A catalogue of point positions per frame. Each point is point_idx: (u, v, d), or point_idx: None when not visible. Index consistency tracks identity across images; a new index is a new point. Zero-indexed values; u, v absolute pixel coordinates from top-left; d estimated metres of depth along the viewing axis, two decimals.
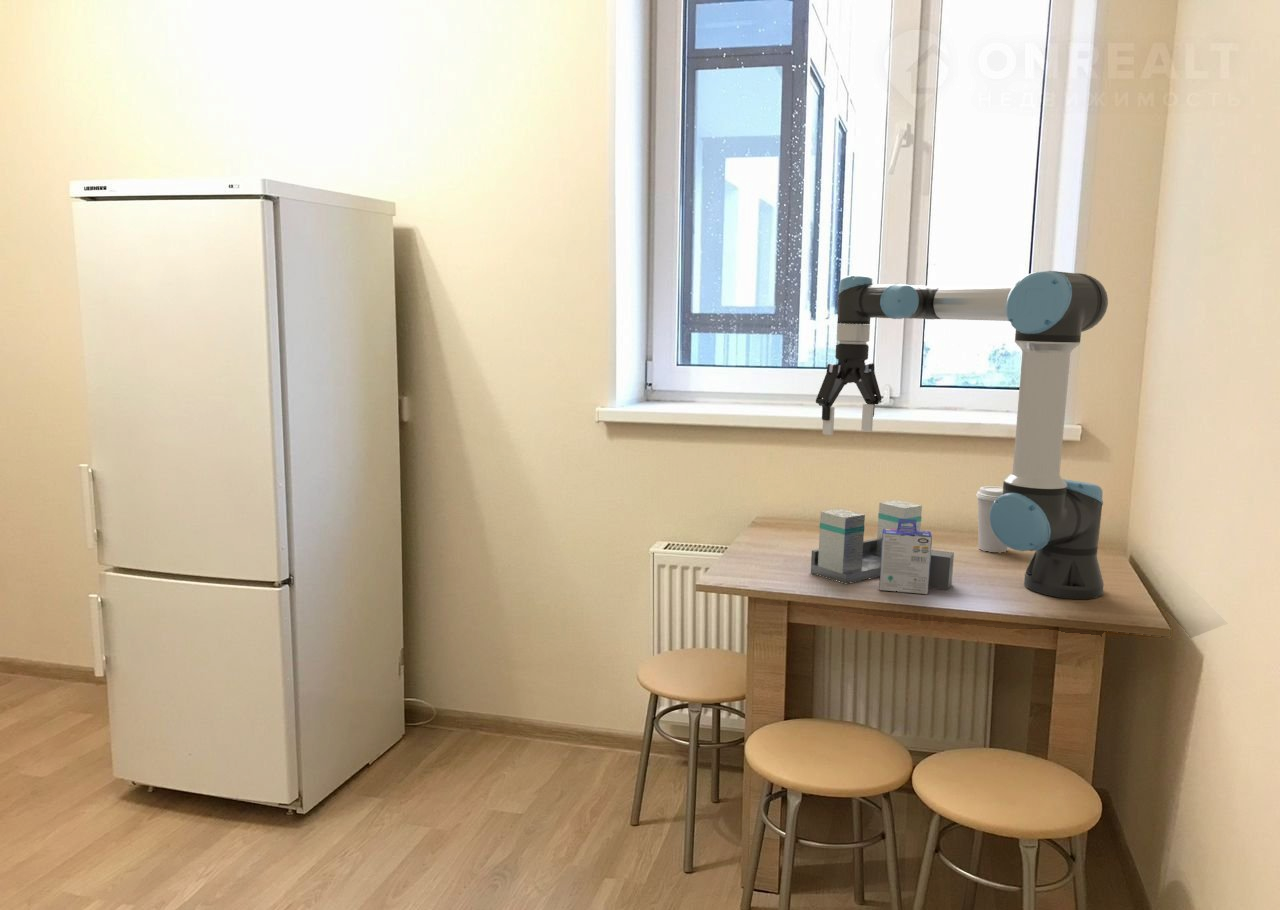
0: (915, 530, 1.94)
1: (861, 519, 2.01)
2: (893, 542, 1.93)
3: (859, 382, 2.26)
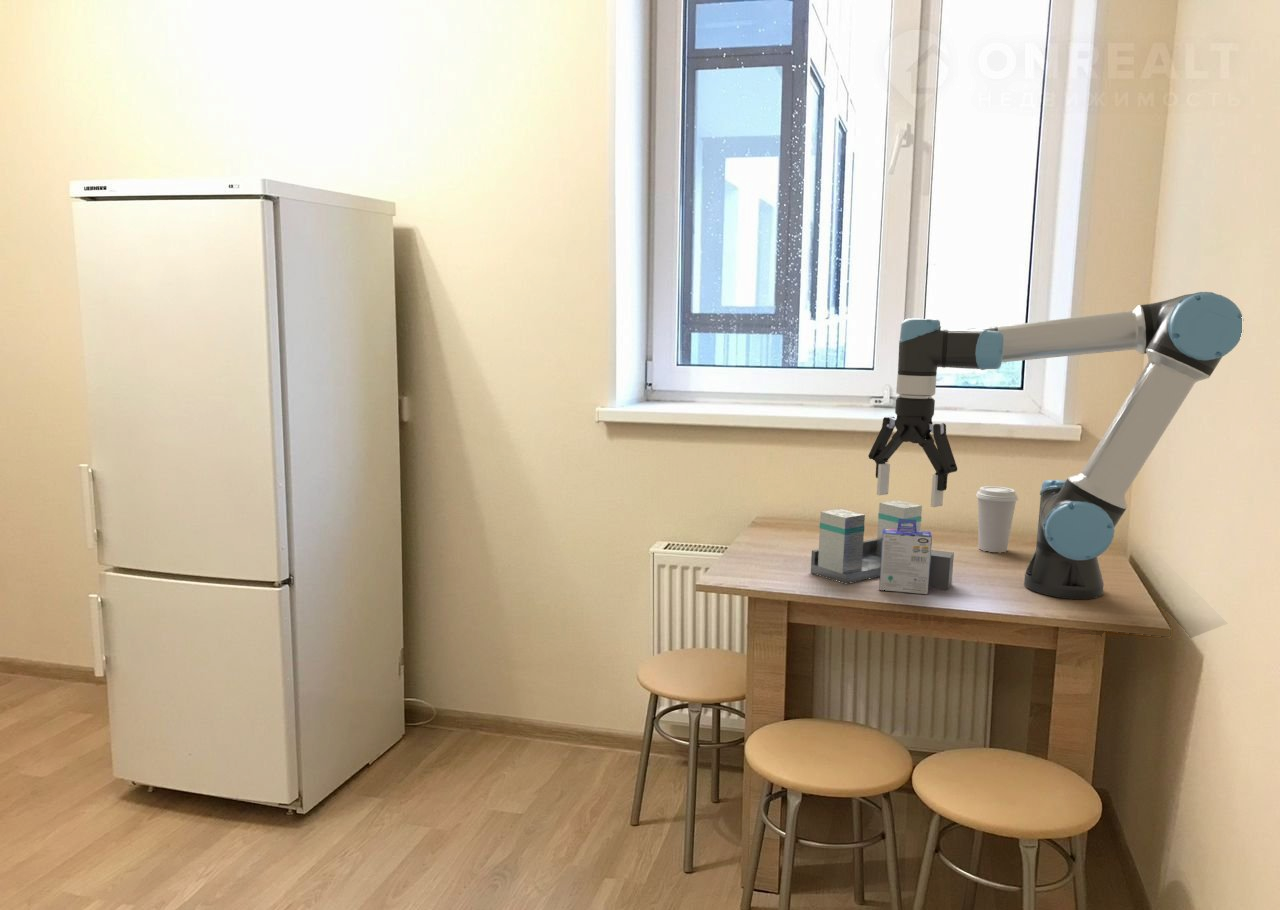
0: (915, 530, 1.94)
1: (861, 519, 2.01)
2: (893, 542, 1.93)
3: None
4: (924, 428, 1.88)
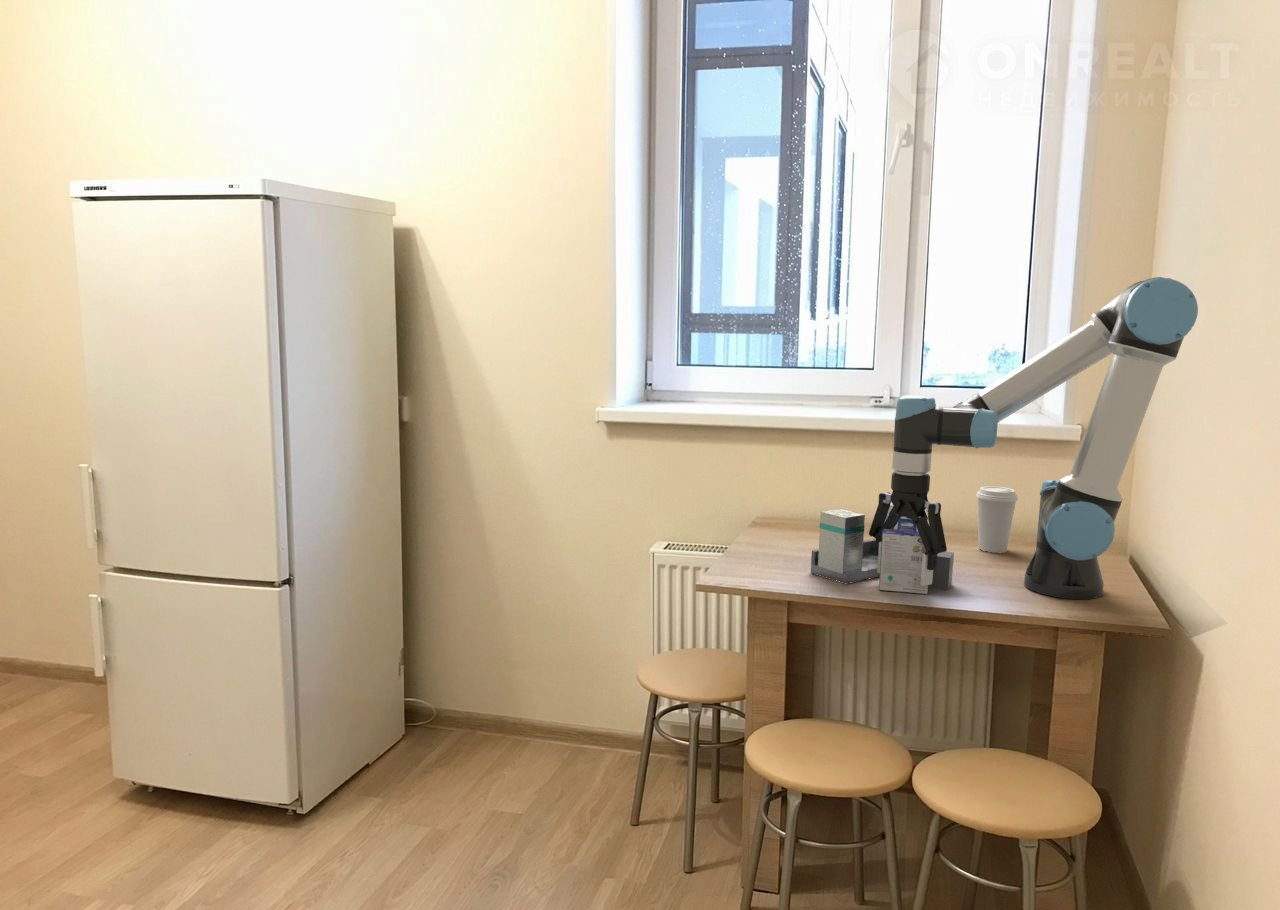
0: (915, 530, 1.94)
1: (861, 519, 2.01)
2: (893, 542, 1.93)
3: None
4: (919, 505, 1.90)
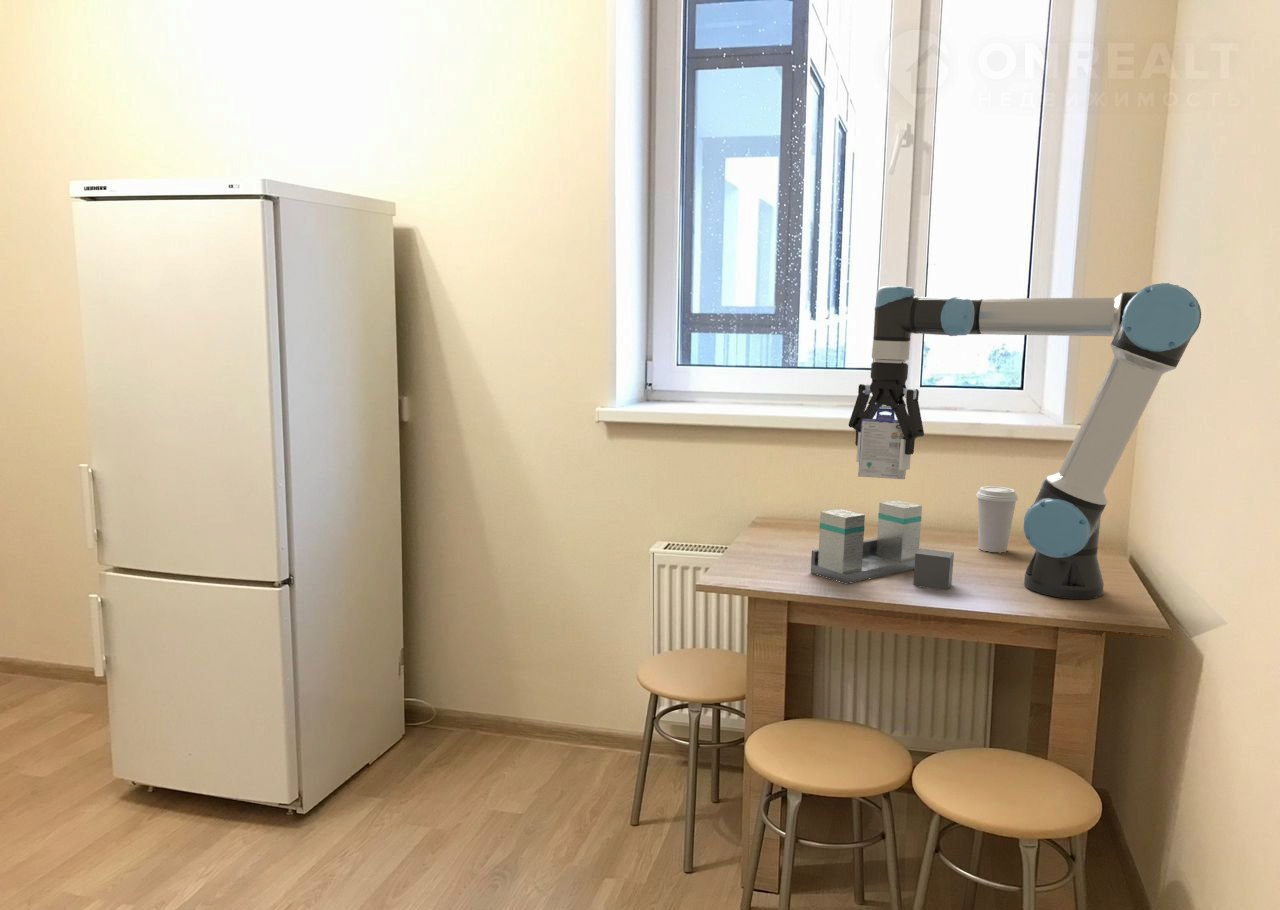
0: (893, 418, 2.01)
1: (861, 519, 2.01)
2: (872, 429, 1.99)
3: None
4: (898, 392, 1.96)
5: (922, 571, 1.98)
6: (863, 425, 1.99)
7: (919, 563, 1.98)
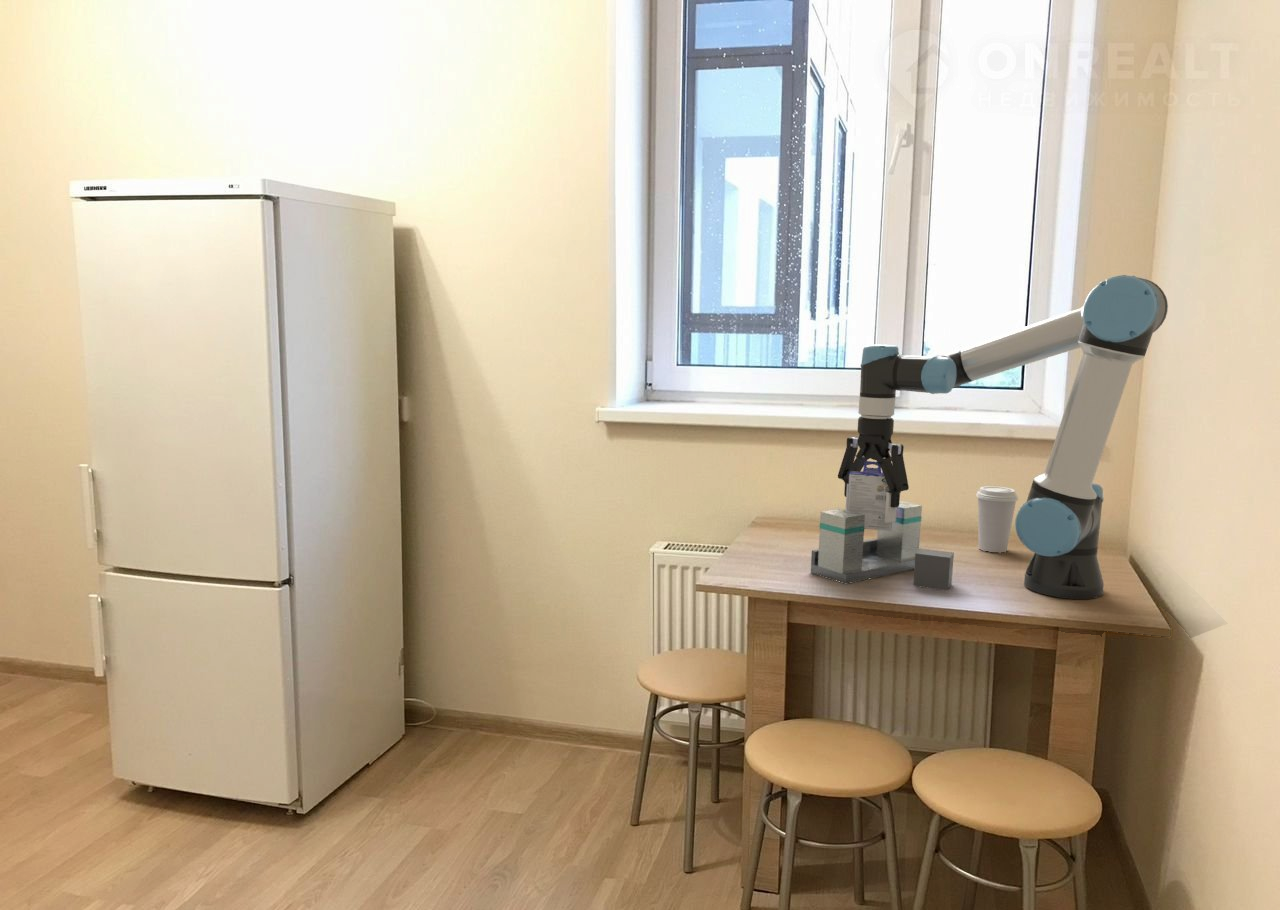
0: (880, 471, 2.07)
1: (861, 519, 2.01)
2: (859, 482, 2.06)
3: None
4: (883, 446, 2.03)
5: (922, 571, 1.98)
6: (850, 478, 2.06)
7: (918, 563, 1.98)
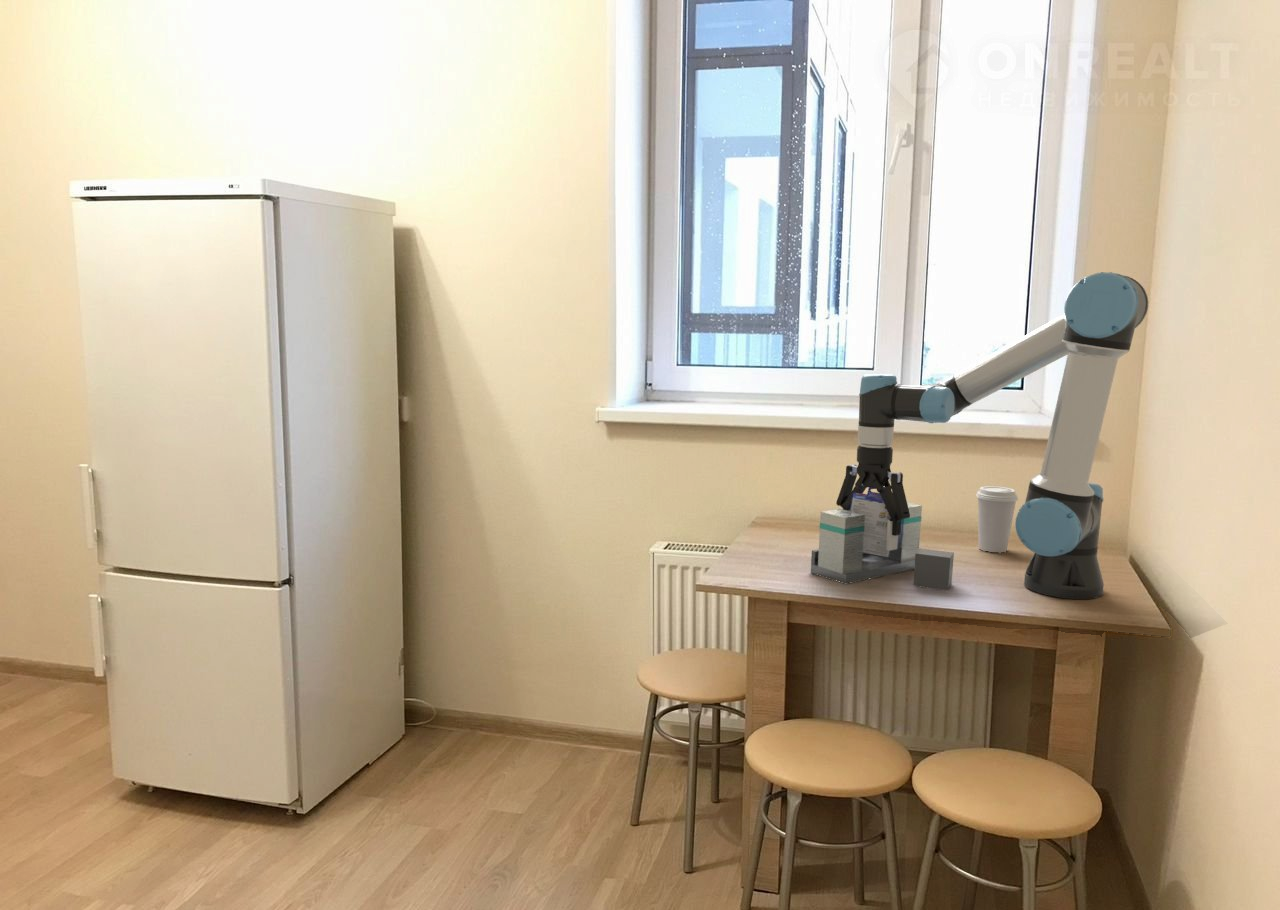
0: None
1: (861, 519, 2.01)
2: (861, 507, 2.05)
3: None
4: (883, 475, 2.03)
5: (922, 571, 1.98)
6: (853, 502, 2.06)
7: (919, 563, 1.98)
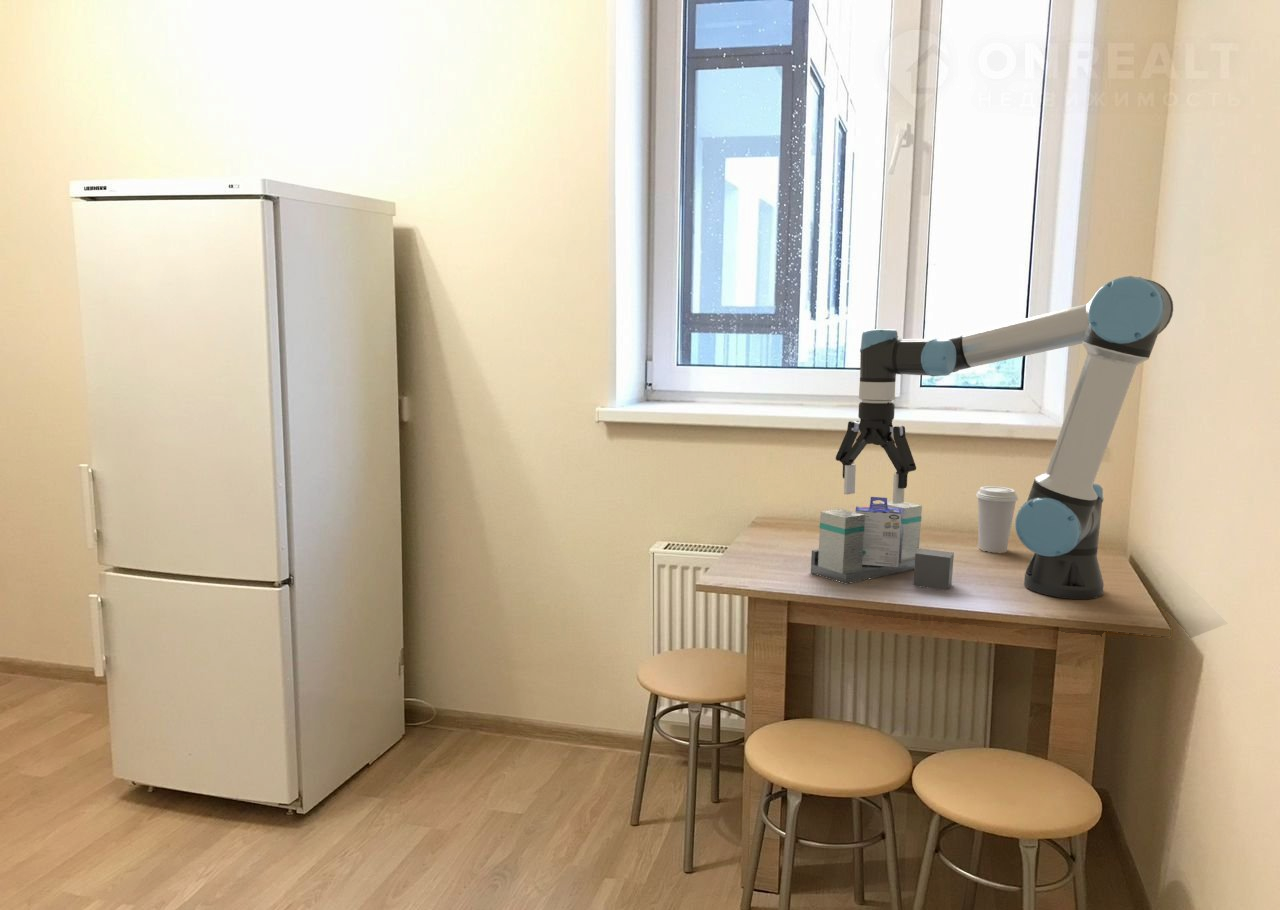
0: (886, 507, 2.06)
1: (861, 519, 2.01)
2: (866, 519, 2.05)
3: None
4: (885, 431, 2.02)
5: (922, 571, 1.98)
6: None
7: (919, 563, 1.98)
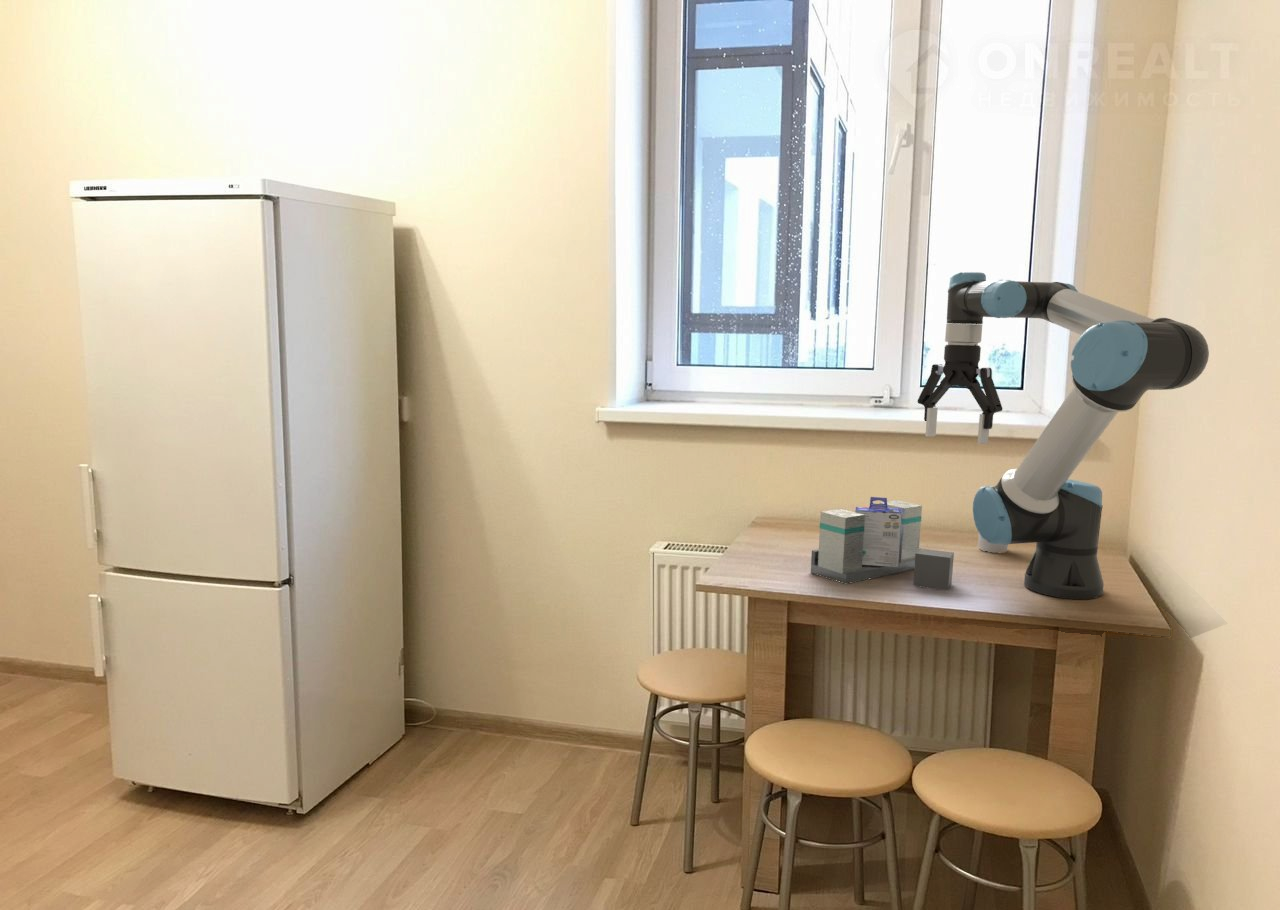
0: (886, 507, 2.06)
1: (861, 519, 2.01)
2: (866, 519, 2.05)
3: None
4: (971, 372, 2.06)
5: (922, 571, 1.98)
6: None
7: (919, 563, 1.98)
